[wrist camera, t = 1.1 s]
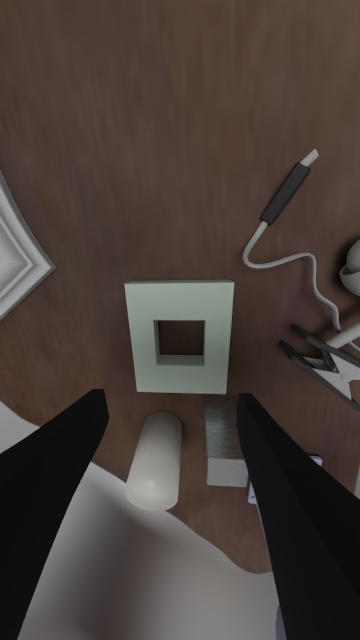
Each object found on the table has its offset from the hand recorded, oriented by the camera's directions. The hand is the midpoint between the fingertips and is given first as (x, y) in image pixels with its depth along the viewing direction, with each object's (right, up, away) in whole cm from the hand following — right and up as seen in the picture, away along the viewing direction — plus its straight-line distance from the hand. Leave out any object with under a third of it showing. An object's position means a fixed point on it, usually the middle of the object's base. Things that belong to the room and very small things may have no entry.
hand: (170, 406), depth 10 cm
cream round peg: (-2, -9, +13) cm, 16 cm away
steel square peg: (+5, -5, +12) cm, 14 cm away
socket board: (+1, +3, +9) cm, 9 cm away
